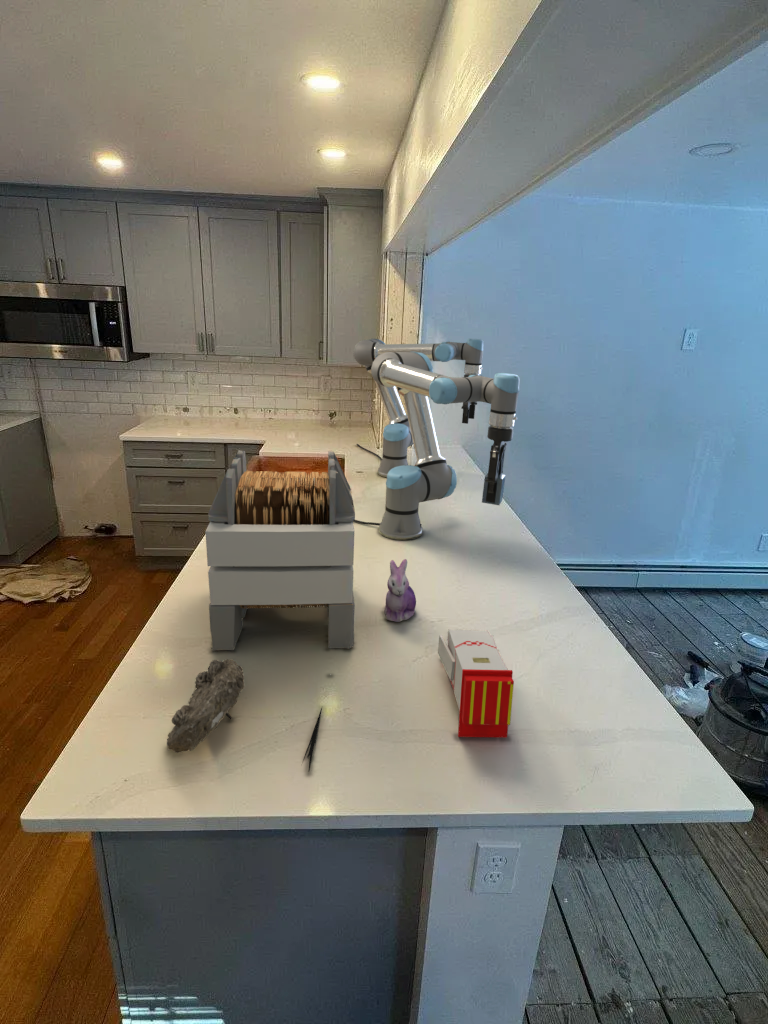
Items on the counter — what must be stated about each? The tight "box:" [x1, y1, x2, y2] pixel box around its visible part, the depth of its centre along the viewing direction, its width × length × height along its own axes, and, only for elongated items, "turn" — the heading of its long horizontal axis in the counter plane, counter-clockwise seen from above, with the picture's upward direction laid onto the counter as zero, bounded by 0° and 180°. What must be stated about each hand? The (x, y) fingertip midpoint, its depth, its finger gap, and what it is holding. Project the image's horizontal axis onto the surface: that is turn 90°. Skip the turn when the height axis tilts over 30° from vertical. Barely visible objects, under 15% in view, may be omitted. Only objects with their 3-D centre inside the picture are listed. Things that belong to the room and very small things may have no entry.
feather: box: [301, 673, 332, 771], centre depth 108 cm, size 2×28×2 cm
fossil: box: [166, 658, 245, 754], centre depth 106 cm, size 22×10×15 cm
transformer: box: [204, 449, 356, 652], centre depth 138 cm, size 34×33×41 cm
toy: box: [437, 628, 515, 738], centre depth 117 cm, size 12×13×30 cm
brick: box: [481, 472, 507, 506], centre depth 178 cm, size 5×6×9 cm
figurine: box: [384, 558, 417, 623], centre depth 145 cm, size 9×10×15 cm
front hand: (492, 499), depth 179 cm, fingers closed on brick, 5 cm apart
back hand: (468, 420), depth 264 cm, fingers open, 13 cm apart
